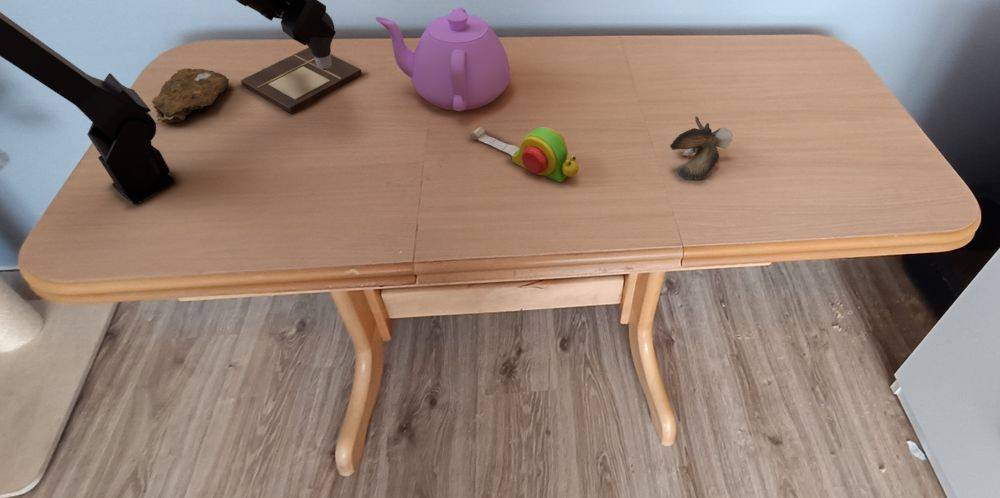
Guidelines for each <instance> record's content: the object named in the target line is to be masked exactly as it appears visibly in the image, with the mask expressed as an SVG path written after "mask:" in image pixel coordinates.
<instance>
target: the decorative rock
mask: <svg viewBox="0 0 1000 498" xmlns="http://www.w3.org/2000/svg"><path fill="white" fill-rule="evenodd" d="M229 86H230V79H229V78H227V77H226V75H225V74H222V73H220V72H216V71H214V70H208V69H204V68H199V69H198V68H194V69H193V68H181V69H178V70H176V72H175V73H173V74H172V75H171V76H170V79H168V80H167V81H165V82H164V83H163V85H162V86H161V89H160V92H159V93H158V95H157V96H154V98H153V99H152V100H151V103H152V106H153V109H154V110H155V112H156V119H157V120H156V121H157V122H159V121H161V122H163V123H166V124H169V123H170V124H173V123H181V122H182V121H184V120H185V118H186V116H188V115H190V114H191V112H192V111H193V110H198V109H199V110H202V109H203V107H206V106H212V105H213V104H214V102H215V101H216V99H217V98H218V96H219V94H222V93H223V92H225V90H227V89H228V88H229Z"/></svg>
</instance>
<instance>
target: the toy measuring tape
mask: <svg viewBox="0 0 1000 498" xmlns="http://www.w3.org/2000/svg"><path fill="white" fill-rule="evenodd" d="M470 135H471V137H472V139H473V140H474V141H476V140H477V141H479V142H482V143H485V144H486V145H489V146H491V147H493V148H495V149H497V150H498V151H499V150H500V151H501V152H504V153H507V154H508V155H509V156H511V162H512V163H513V164H515V165H518V166H519V167H521V168H523V169H525V170H528V171H529V172H531V173H533V174H536V175H538V176H546V177H547V178H550V179H551V180H553V181H554V182H555V181H556V182H557V183H562V182H563V180H564V179H566V178H567V177H570V178H571V177H574V176H576V175H578V173H579V170H580V165H579V164H578V162H577V161H576V158H577V157H576V156H575V155H574V154H573V155H570V156H569V158H568V155H569V152H568V151H569V150H568V146H567V143H566V140H565V138H564V137H563V135H561V134H560V133H559V132H557V131H556V130H555V129H553V128H550V127H546V126H540V127H536V128H534V129H533V130H532V131H531V132H530V133H529V134H528V135H526V136H525V137H524V138H523V139H522V141H521V143H520V145H519V146H516V145H513V144H509V143H506V142H503V141H501V140H498V139H497V138H494V137H493V136H490V135H487V134H486V129H485V128H484V127H482V126H479V127H477V128H476V129H475V130H473V131H472V132H471V133H470Z"/></svg>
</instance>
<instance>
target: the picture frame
mask: <svg viewBox="0 0 1000 498" xmlns="http://www.w3.org/2000/svg"><path fill="white" fill-rule="evenodd" d="M330 55H331V61H332V65H331V66H330V67H329V68H328V70H323V69H321V68H319V67H317V64H316V61H315V57H314V55H313V54H312V51H311V49H310V48H309V47H308V46H307V47H306V48H305V49H302V50H300V51H298V52H296V53H294V54H291V55H290V56H288V57H285V58H284V59H281V60H280V61H277V62H275V63H273V64H271V65H269V66H267V67H265V68H263V69H261V70H259V71H257V72H255V73H252V74H251V75H248V76H246V77H244V78H242V79H241V80H240V82H241V85H242V87H243V88H245V89H247V90H249V91H251V92H252V93H254V94H256V95H258V96H259V97H261V98H263V99H264V100H266V101H268V102H269V103H272V104H273V105H275V106H277V107H278V108H280V109H282V110H284V111H285V112H287V113H288V114H290V115H293V114H294V113H296V112H297V111H299V110H301V109H303V108H305V107H307V106H308V105H311V104H312V103H314V102H316V101H317V100H319V99H322V98H323V97H325V96H327V95H329V94H330V93H332V92H334V91H336V90H338V89H339V88H342V87H343V86H345V85H347V84H348V83H350V82H353V81H354V80H356V79H358V78H360V77H361V76H363V71H362V69H361V68H359V67H358V66H355V65H353V64H351V63H349V62H347V61H345V60H343V59H340V58H338V57H336V56H335V55H332V54H330Z"/></svg>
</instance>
